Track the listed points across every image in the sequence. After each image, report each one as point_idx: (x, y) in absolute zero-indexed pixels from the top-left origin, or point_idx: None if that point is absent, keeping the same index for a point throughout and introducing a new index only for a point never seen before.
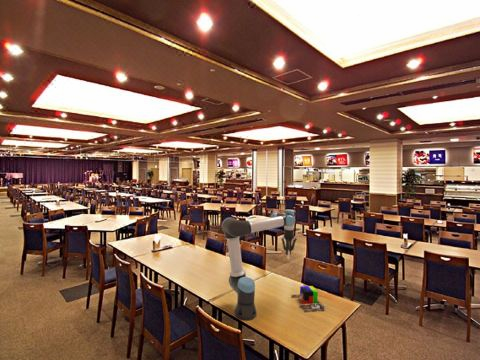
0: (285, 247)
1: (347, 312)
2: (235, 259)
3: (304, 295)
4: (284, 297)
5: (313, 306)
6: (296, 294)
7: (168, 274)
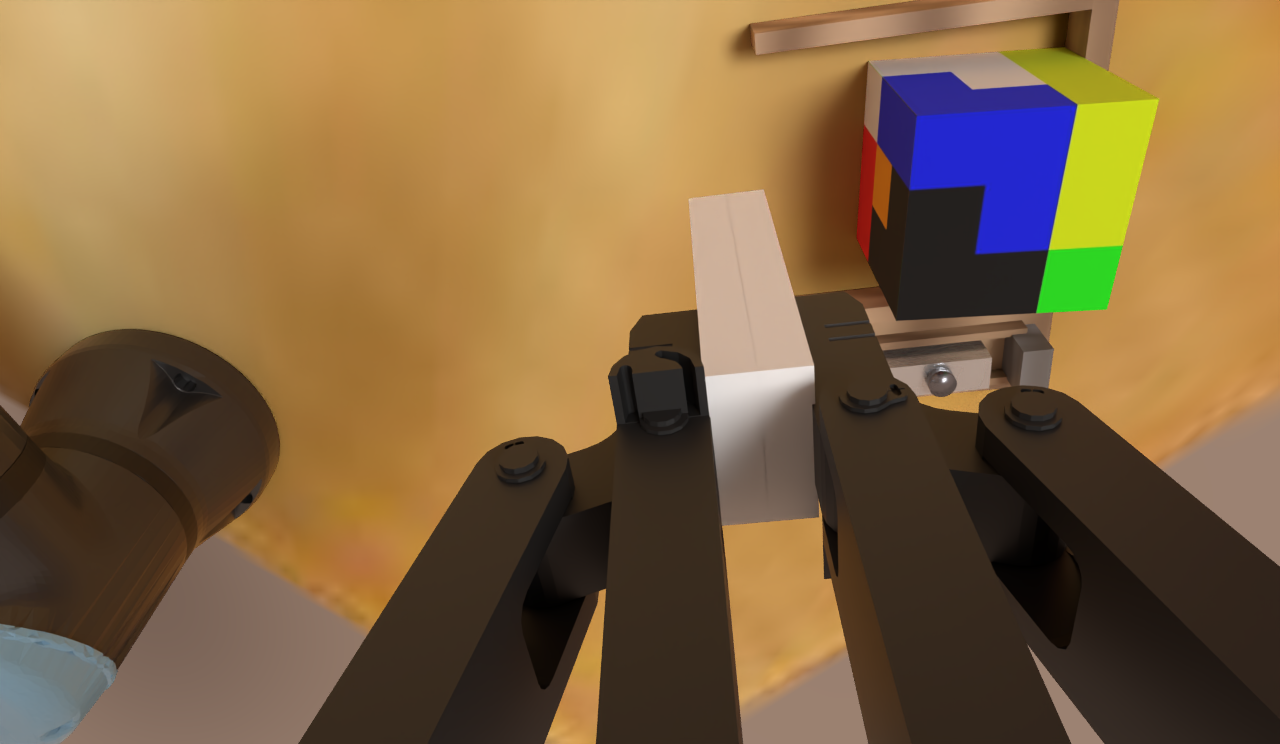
0: (550, 703)
1: (1274, 383)
2: None
3: (883, 285)
4: (644, 13)
5: (915, 384)
6: (840, 25)
7: None
